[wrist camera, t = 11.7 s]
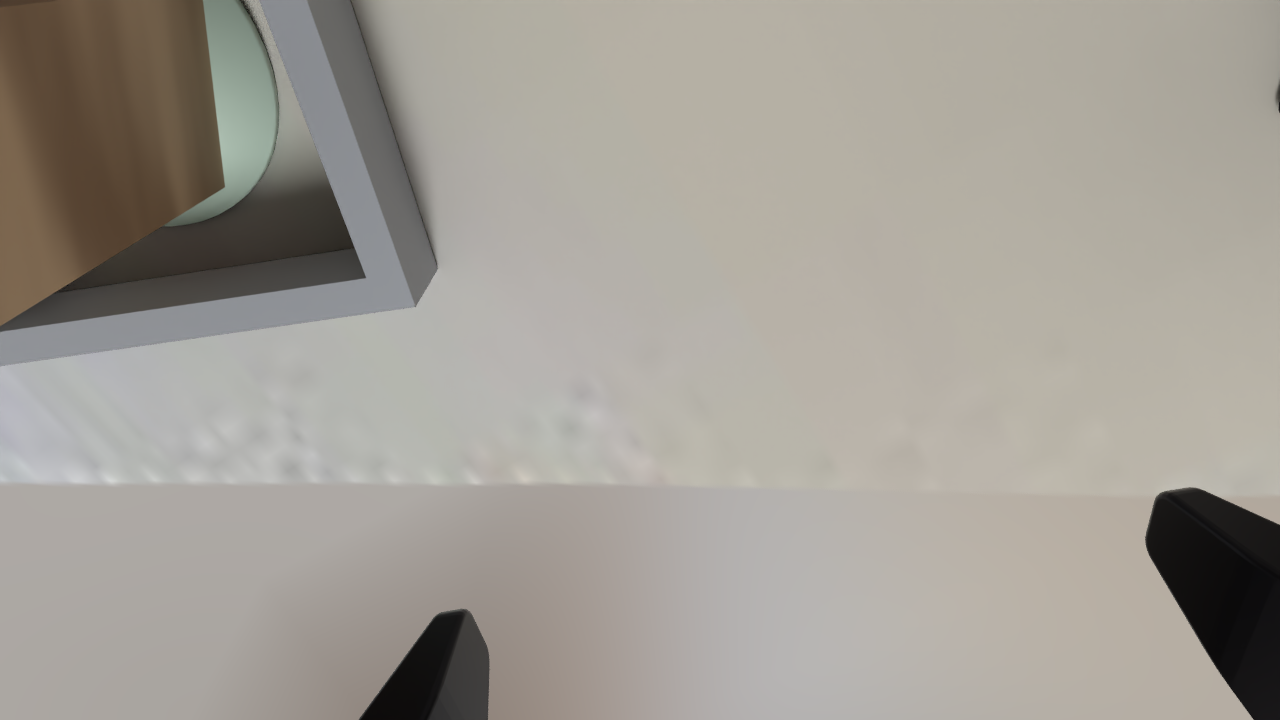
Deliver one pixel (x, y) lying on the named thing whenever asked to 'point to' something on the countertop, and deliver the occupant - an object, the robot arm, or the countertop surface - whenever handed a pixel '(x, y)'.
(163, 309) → the walled pen
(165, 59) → the walnut block
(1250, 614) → the robot arm
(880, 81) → the countertop surface
